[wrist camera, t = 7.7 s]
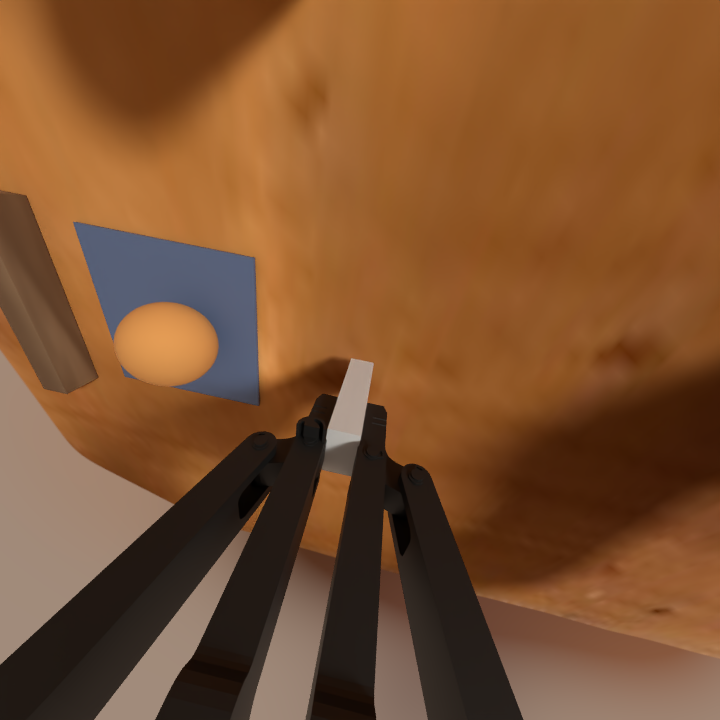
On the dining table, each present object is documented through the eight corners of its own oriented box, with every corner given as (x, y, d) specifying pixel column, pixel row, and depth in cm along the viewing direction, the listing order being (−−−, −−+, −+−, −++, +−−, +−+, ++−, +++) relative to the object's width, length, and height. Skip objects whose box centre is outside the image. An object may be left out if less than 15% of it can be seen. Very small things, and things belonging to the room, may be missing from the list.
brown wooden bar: (26, 195, 16) (-31, 191, 14) (98, 377, 23) (67, 394, 21) (-4, 189, 17) (-65, 185, 14) (77, 373, 23) (44, 388, 21)
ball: (206, 289, 19) (222, 318, 16) (214, 354, 22) (230, 391, 18) (104, 291, 16) (95, 327, 12) (128, 366, 19) (126, 414, 15)
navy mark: (255, 257, 16) (253, 258, 16) (259, 404, 22) (258, 405, 22) (76, 222, 17) (72, 222, 17) (126, 375, 23) (124, 376, 23)
